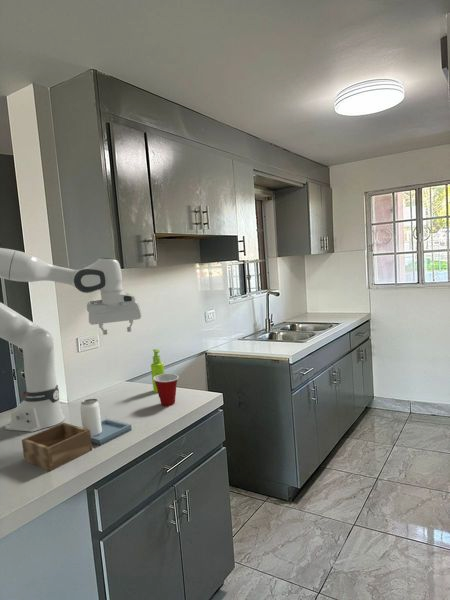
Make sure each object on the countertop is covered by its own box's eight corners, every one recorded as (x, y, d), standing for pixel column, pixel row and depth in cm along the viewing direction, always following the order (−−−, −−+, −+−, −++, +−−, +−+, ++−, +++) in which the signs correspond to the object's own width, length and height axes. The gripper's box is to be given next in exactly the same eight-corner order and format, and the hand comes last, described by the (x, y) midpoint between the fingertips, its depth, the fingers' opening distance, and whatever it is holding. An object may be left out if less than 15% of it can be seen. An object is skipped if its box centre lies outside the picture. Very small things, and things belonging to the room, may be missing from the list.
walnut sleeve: (24, 460, 132) (21, 439, 131) (65, 441, 144) (63, 422, 143) (50, 471, 123) (47, 448, 122) (92, 450, 135) (89, 429, 135)
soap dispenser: (155, 393, 190) (151, 351, 188) (152, 390, 196) (147, 349, 194) (168, 391, 192) (163, 349, 190) (164, 387, 198) (160, 347, 196)
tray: (75, 438, 146) (74, 432, 146) (107, 423, 158) (106, 418, 157) (100, 445, 138) (99, 440, 138) (131, 429, 149) (131, 424, 149)
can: (98, 436, 144) (94, 403, 143) (80, 437, 144) (76, 405, 143) (104, 429, 150) (101, 397, 149) (87, 430, 150) (84, 398, 149)
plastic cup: (175, 408, 168) (172, 380, 167) (151, 408, 171) (148, 380, 170) (185, 399, 178) (182, 372, 177) (162, 399, 181) (159, 372, 180)
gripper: (84, 302, 156) (89, 337, 157) (138, 296, 159) (142, 331, 160) (87, 300, 162) (91, 334, 164) (139, 295, 165) (143, 328, 167)
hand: (117, 333), depth 162 cm, fingers open, 8 cm apart
